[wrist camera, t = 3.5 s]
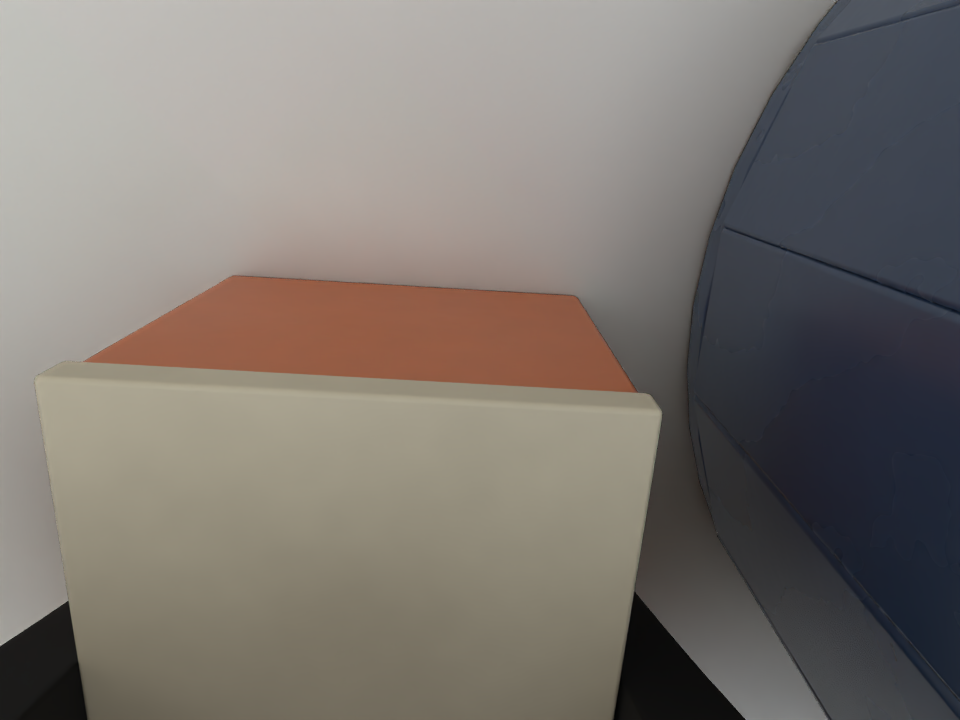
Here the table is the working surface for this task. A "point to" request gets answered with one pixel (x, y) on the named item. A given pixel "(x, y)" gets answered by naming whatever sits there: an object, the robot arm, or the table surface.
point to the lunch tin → (844, 362)
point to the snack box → (351, 506)
